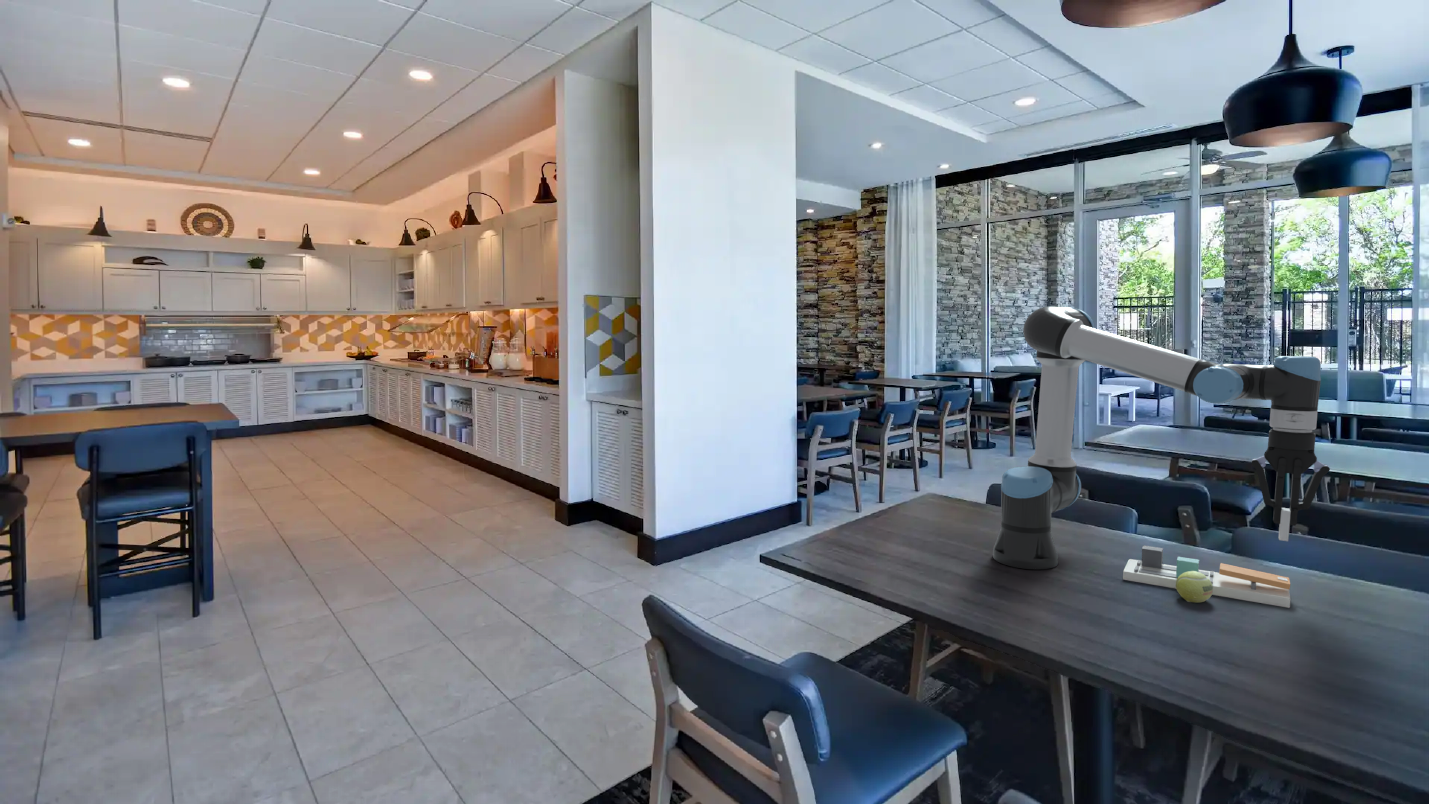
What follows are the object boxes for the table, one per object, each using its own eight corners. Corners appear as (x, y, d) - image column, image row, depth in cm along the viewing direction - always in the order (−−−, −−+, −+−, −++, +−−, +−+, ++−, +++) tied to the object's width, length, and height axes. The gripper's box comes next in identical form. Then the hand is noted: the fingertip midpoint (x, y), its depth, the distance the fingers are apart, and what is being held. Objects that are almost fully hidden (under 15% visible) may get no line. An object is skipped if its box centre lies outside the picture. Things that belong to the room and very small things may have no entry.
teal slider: (1176, 577, 154) (1176, 560, 154) (1177, 573, 157) (1177, 556, 156) (1197, 580, 152) (1198, 563, 152) (1198, 576, 154) (1199, 559, 154)
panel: (1122, 579, 160) (1123, 565, 160) (1128, 566, 169) (1129, 553, 168) (1289, 607, 142) (1290, 592, 141) (1286, 592, 150) (1287, 577, 150)
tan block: (1219, 574, 151) (1220, 568, 150) (1219, 568, 155) (1220, 562, 154) (1289, 589, 143) (1290, 583, 143) (1288, 582, 147) (1289, 577, 147)
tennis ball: (1202, 576, 142) (1216, 570, 146) (1167, 572, 148) (1182, 566, 152) (1205, 607, 142) (1220, 600, 146) (1170, 601, 148) (1185, 595, 151)
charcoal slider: (1141, 564, 163) (1142, 548, 163) (1142, 561, 165) (1143, 545, 165) (1161, 568, 161) (1162, 551, 160) (1162, 564, 163) (1163, 548, 163)
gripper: (1253, 429, 144) (1244, 537, 146) (1335, 434, 136) (1325, 549, 139) (1252, 425, 150) (1244, 529, 152) (1331, 430, 142) (1322, 540, 145)
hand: (1283, 539), depth 145 cm, fingers closed
